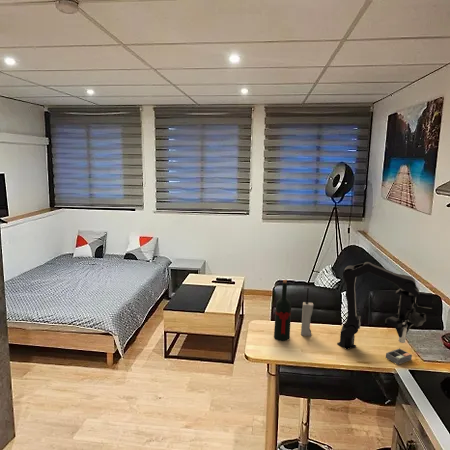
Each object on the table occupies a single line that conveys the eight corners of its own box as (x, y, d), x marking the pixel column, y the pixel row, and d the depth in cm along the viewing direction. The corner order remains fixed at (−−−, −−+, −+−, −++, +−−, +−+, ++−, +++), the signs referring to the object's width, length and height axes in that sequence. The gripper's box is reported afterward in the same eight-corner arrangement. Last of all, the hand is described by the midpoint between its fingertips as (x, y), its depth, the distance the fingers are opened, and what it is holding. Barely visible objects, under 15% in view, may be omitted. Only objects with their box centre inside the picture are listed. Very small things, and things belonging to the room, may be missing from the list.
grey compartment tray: (397, 364, 171) (398, 359, 171) (385, 357, 177) (386, 352, 176) (411, 359, 176) (412, 354, 175) (398, 353, 181) (399, 347, 181)
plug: (402, 343, 175) (404, 325, 173) (396, 340, 177) (398, 322, 175) (406, 342, 176) (409, 323, 174) (401, 339, 179) (403, 321, 177)
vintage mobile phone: (311, 336, 196) (314, 289, 191) (301, 335, 197) (304, 288, 192) (310, 333, 199) (314, 287, 195) (301, 332, 200) (304, 286, 196)
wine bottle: (274, 342, 188) (277, 284, 183) (273, 333, 198) (276, 277, 193) (290, 343, 188) (294, 285, 182) (288, 334, 198) (292, 278, 192)
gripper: (409, 314, 162) (404, 348, 165) (435, 307, 171) (431, 339, 174) (386, 305, 171) (383, 338, 174) (413, 298, 180) (409, 329, 183)
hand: (402, 336), depth 176 cm, fingers closed on plug, 3 cm apart
